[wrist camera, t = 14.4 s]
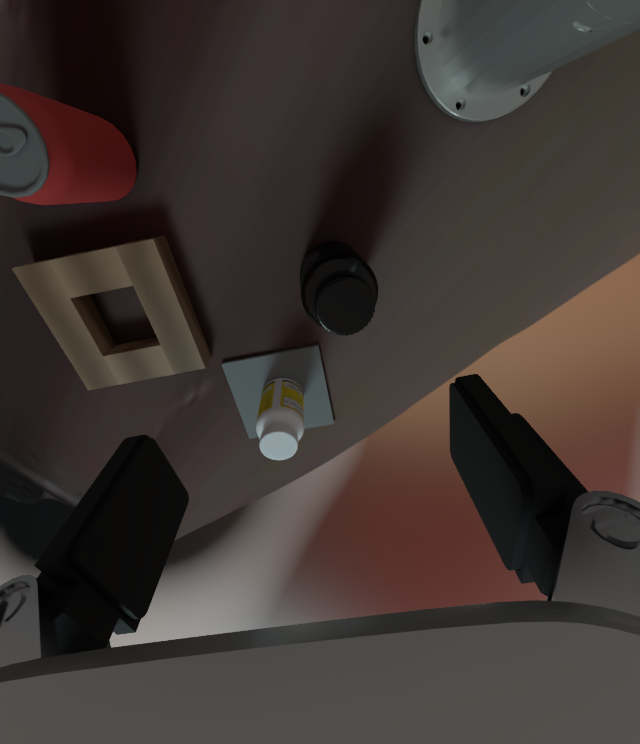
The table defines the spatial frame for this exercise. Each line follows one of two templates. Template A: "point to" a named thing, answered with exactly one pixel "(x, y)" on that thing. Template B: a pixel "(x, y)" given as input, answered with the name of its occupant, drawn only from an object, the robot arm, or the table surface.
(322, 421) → the mat
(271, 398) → the supplement bottle
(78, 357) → the holder
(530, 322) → the table surface
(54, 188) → the beer can
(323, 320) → the supplement bottle
